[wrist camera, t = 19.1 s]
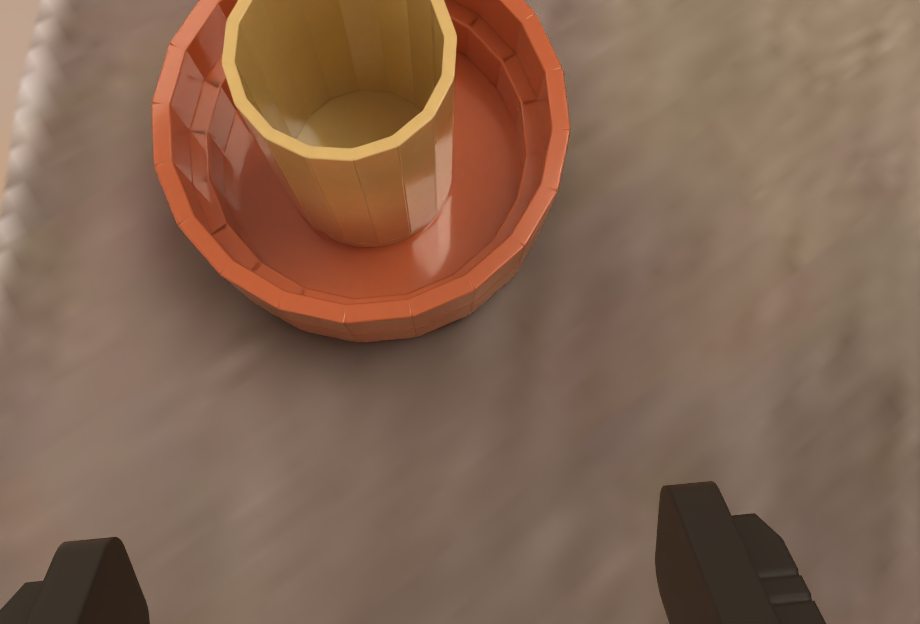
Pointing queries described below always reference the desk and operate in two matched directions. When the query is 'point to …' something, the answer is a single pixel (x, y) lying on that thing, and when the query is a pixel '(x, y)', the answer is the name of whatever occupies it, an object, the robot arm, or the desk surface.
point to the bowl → (386, 267)
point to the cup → (350, 108)
